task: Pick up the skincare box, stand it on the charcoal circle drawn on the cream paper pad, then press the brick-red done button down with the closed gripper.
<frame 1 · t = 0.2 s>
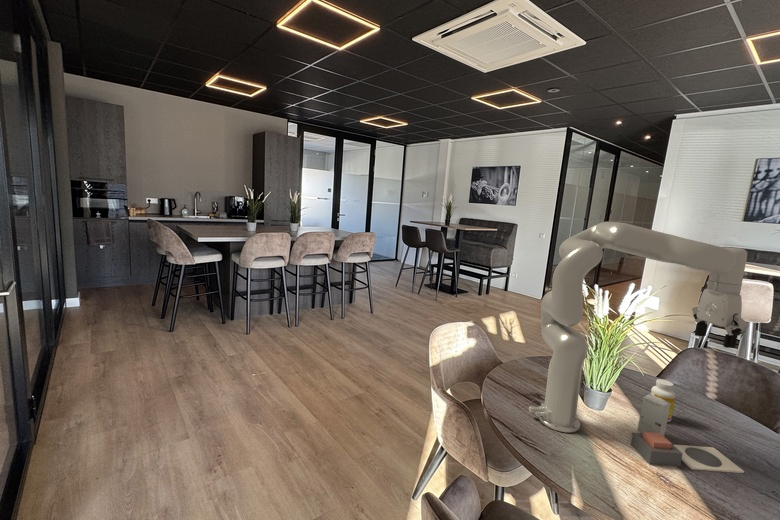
hand: (713, 341, 112), 31 cm above the table, tool pointing down, fingers open, 9 cm apart
done button: (656, 442, 103), point 4 cm above the table, slide at 0.0 cm
skincare box: (650, 435, 113), on the table
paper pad: (702, 458, 103), on the table
supplement bottle: (659, 417, 124), on the table
button housing: (654, 455, 104), on the table
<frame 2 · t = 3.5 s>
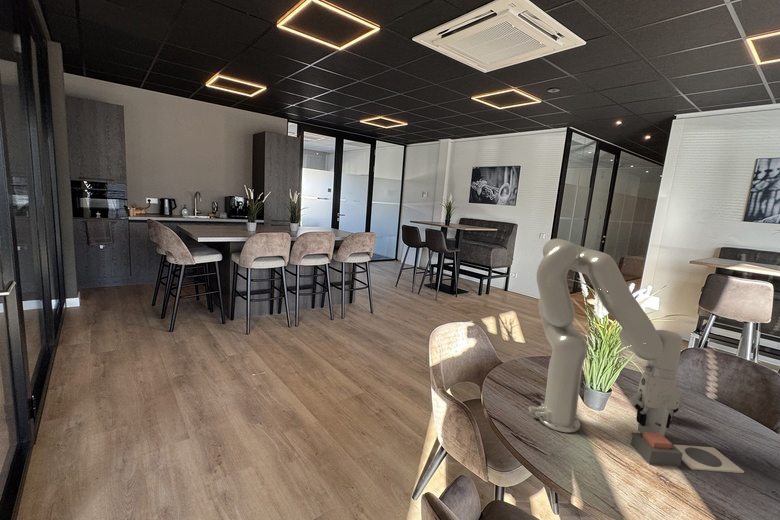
hand: (652, 424, 113), 4 cm above the table, tool pointing down, fingers closed on skincare box, 6 cm apart
skincare box: (650, 435, 113), on the table, touching gripper
everything else where it was.
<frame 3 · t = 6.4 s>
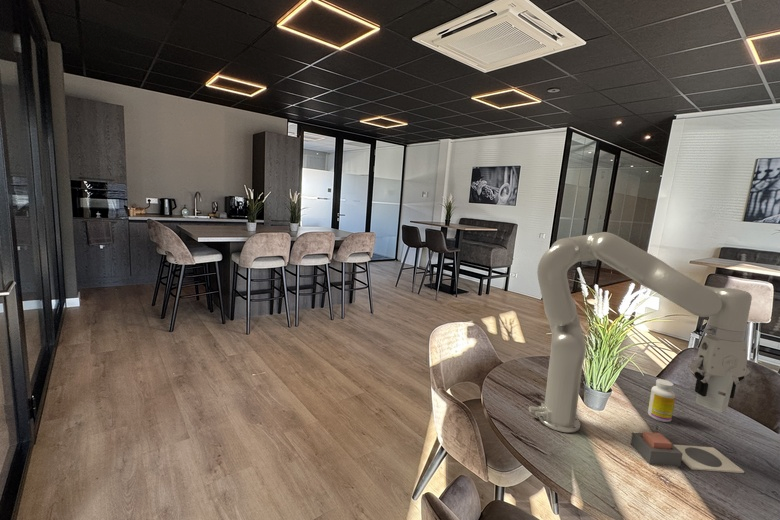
hand: (713, 394, 100), 20 cm above the table, tool pointing down, fingers closed on skincare box, 6 cm apart
skincare box: (711, 407, 101), point 16 cm above the table, touching gripper
everything else where it was.
when the fingers open (6 cm above the table, at t = 9.4 s): skincare box drops 2 cm, resting on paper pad.
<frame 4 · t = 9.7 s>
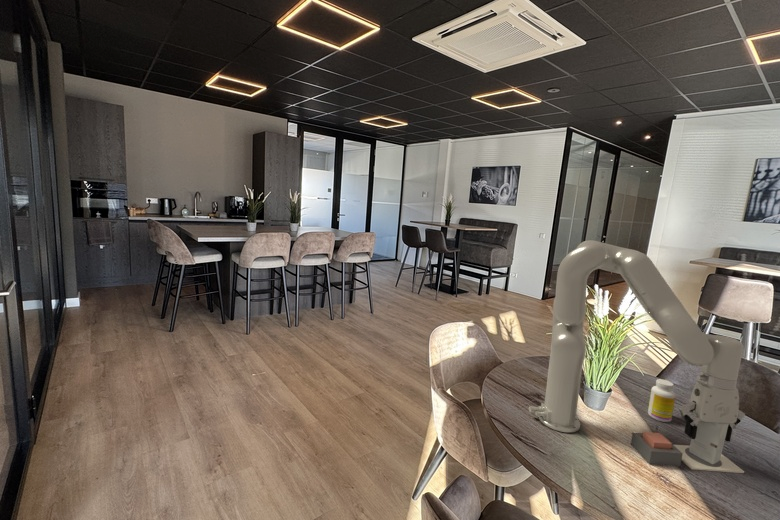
hand: (706, 437, 102), 7 cm above the table, tool pointing down, fingers open, 9 cm apart
skincare box: (704, 457, 103), resting on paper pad
everything else where it was.
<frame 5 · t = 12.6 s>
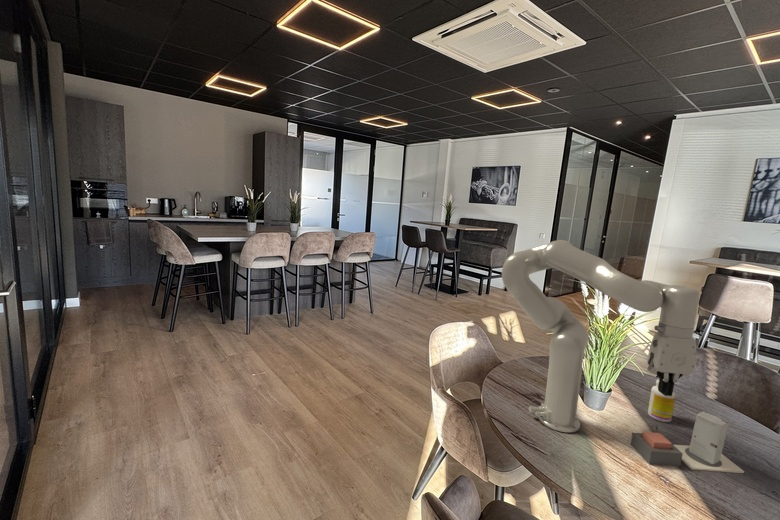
hand: (664, 393, 101), 19 cm above the table, tool pointing down, fingers closed
nothing on the table moved.
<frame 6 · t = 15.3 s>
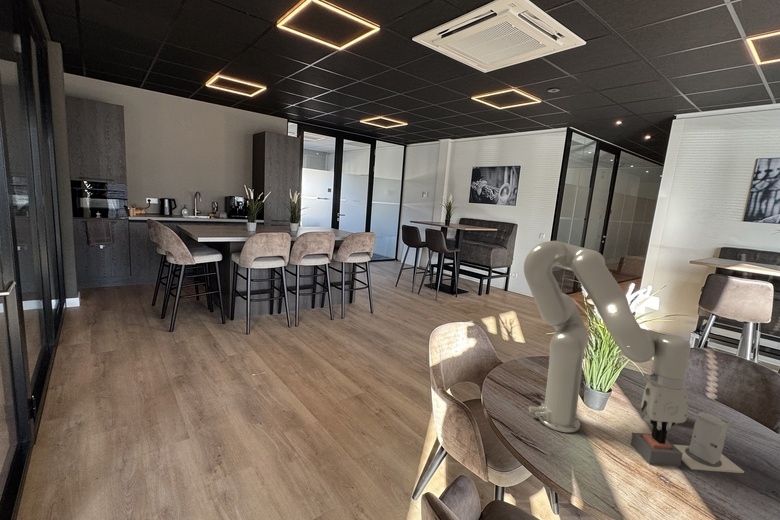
hand: (658, 440, 103), 5 cm above the table, tool pointing down, fingers closed
done button: (656, 444, 103), point 3 cm above the table, slide at 0.7 cm, touching gripper
everything else where it was.
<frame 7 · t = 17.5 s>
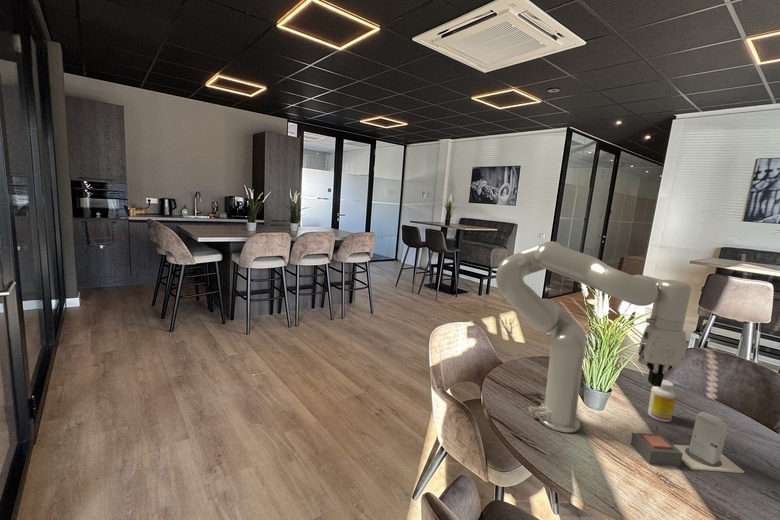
hand: (654, 384, 104), 20 cm above the table, tool pointing down, fingers closed
done button: (655, 445, 103), point 3 cm above the table, slide at 1.0 cm
everything else where it was.
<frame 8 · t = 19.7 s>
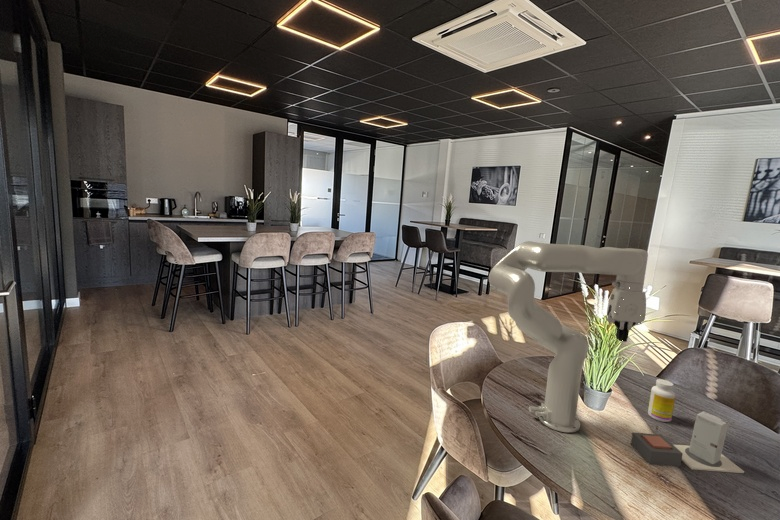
hand: (621, 340, 120), 27 cm above the table, tool pointing down, fingers closed
nothing on the table moved.
at the end: skincare box inside the target area on the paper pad (0.5 cm from its centre), point 0.5 cm above the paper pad's base; skincare box tilted 0°; done button slide at 1.0 cm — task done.
